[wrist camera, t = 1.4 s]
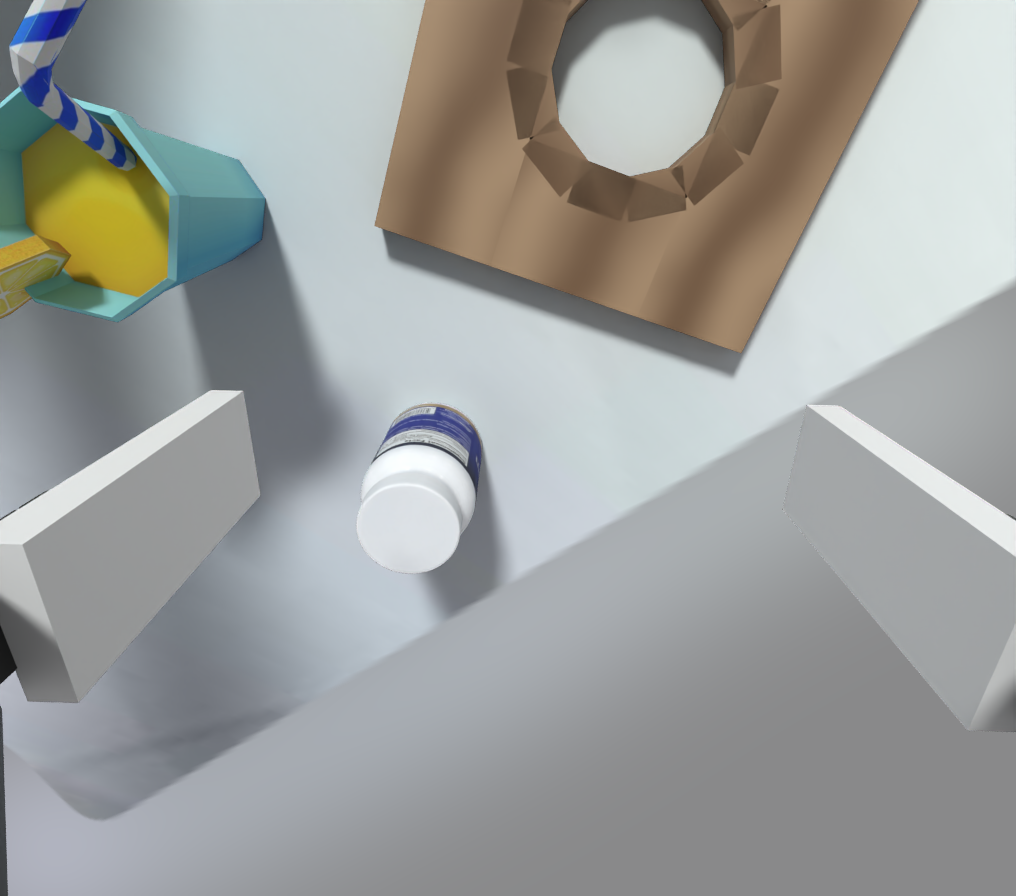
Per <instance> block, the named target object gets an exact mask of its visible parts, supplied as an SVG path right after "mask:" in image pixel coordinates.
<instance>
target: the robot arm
mask: <svg viewBox="0 0 1016 896" xmlns="http://www.w3.org/2000/svg"><path fill="white" fill-rule="evenodd" d="M259 497H260V489H259V483H258V476H257V470H256V464H255V458H254V452H253V446H252V440H251V434H250V428H249V422H248V416H247V409H246V403H245V397H244V391H230V390H210V391H209V392H207V393H205V394H204V395H202V396H201V397H199V398H197V399H196V400H194V401H192V402H191V403H189V404H188V405H186V406H184V407H183V408H181V409H180V410H178V411H176V412H175V413H173V414H172V415H170V416H168V417H167V418H165V419H163V420H162V421H160V422H159V423H157V424H155V425H154V426H152V427H151V428H149V429H147V430H146V431H144V432H142V433H141V434H139V435H138V436H136V437H134V438H133V439H131V440H130V441H128V442H126V443H125V444H123V445H122V446H120V447H118V448H117V449H115V450H113V451H112V452H110V453H109V454H107V455H105V456H104V457H102V458H101V459H99V460H97V461H96V462H94V463H92V464H91V465H89V466H88V467H86V468H84V469H83V470H81V471H80V472H78V473H76V474H75V475H73V476H71V477H70V478H68V479H67V480H65V481H63V482H62V483H60V484H59V485H57V486H55V487H54V488H52V489H51V490H48V491H46V492H43V493H42V494H40V495H38V496H37V497H35V498H34V499H32V500H30V501H29V502H27V503H26V504H24V505H22V506H21V507H19V509H18V510H14V511H13V512H11V513H9V514H8V515H6V516H4V517H3V518H1V519H0V684H1V683H2V682H3V681H4V680H5V679H6V678H7V677H8V676H10V675H11V674H12V673H13V672H14V671H16V673H17V676H18V678H19V681H20V683H21V686H22V688H23V691H24V693H25V696H26V698H27V701H33V702H65V703H79V702H80V701H81V700H82V699H83V698H84V696H85V695H86V694H87V693H88V692H89V691H90V690H91V688H92V687H93V686H94V685H95V684H96V683H97V682H98V680H99V679H100V678H101V677H102V676H103V675H104V674H105V672H106V671H107V670H108V669H109V668H110V667H111V666H112V664H113V663H114V662H115V661H116V660H117V659H118V658H119V656H120V655H121V654H122V653H123V652H124V651H125V650H126V648H127V647H128V646H129V645H130V644H131V643H132V642H133V640H134V639H135V638H136V637H137V636H138V635H139V634H140V632H141V631H142V630H143V629H144V628H145V627H146V626H147V624H148V623H149V622H150V621H151V620H152V619H153V618H154V616H155V615H156V614H157V613H158V612H159V611H160V610H161V608H162V607H163V606H164V605H165V604H166V603H167V602H168V600H169V599H170V598H171V597H172V596H173V595H174V594H175V592H176V591H177V590H178V589H179V588H180V587H181V586H182V584H183V583H184V582H185V581H186V580H187V579H188V578H189V576H190V575H191V574H192V573H193V572H194V571H195V570H196V568H197V567H198V566H199V565H200V564H201V563H202V562H203V561H204V559H205V558H206V557H207V556H208V555H209V554H210V553H211V551H212V550H213V549H214V548H215V547H216V546H217V545H218V543H219V542H220V541H221V540H222V539H223V538H224V537H225V535H226V534H227V533H228V532H229V531H230V530H231V529H232V527H233V526H234V525H235V524H236V523H237V522H238V521H239V519H240V518H241V517H242V516H243V515H244V514H245V513H246V511H247V510H248V509H249V508H250V507H251V506H252V505H253V503H254V502H255V501H256V500H257V499H258V498H259ZM782 510H783V511H784V512H785V513H786V514H787V516H788V517H789V518H790V519H791V520H792V522H793V523H794V524H795V525H796V526H797V528H798V529H799V530H800V531H801V532H802V533H803V535H804V536H805V537H806V538H807V539H808V540H809V542H810V543H811V544H812V545H813V547H814V548H815V549H816V550H817V551H818V553H819V554H820V555H821V556H822V557H823V559H824V560H825V561H826V562H827V563H828V564H829V566H830V567H831V568H832V569H833V570H834V572H835V573H836V574H837V575H838V576H839V577H840V579H841V580H842V581H843V582H844V584H845V585H846V586H847V587H848V588H849V590H850V591H851V592H852V593H853V594H854V595H855V597H856V598H857V599H858V600H859V601H860V603H861V604H862V605H863V606H864V607H865V609H866V610H867V611H868V612H869V613H870V615H871V616H872V617H873V618H874V619H875V620H876V622H877V623H878V624H879V625H880V627H881V628H882V629H883V630H884V631H885V632H886V633H887V635H888V636H889V637H890V638H891V640H892V641H893V642H894V643H895V644H896V645H897V647H898V648H899V649H900V650H901V652H902V653H903V654H904V655H905V656H906V658H907V659H908V660H909V661H910V662H911V664H912V665H913V666H914V667H915V668H916V669H917V671H918V672H919V673H920V674H921V675H922V677H923V678H924V679H925V680H926V681H927V683H928V684H929V685H930V686H931V687H932V689H933V690H934V691H935V692H936V693H937V695H938V696H939V697H940V698H941V699H942V701H943V702H944V703H945V704H946V705H947V706H948V708H949V709H950V710H951V711H952V712H953V714H954V715H955V716H956V717H957V718H958V720H959V721H960V722H961V723H962V724H963V726H964V727H965V728H966V729H967V730H968V731H997V732H1016V519H1015V518H1014V517H1012V516H1010V515H1008V514H1005V513H1003V512H1002V511H1000V510H999V509H997V508H995V507H994V506H992V505H991V504H989V503H988V502H986V501H985V500H983V499H981V498H980V497H979V496H977V495H976V494H974V493H972V492H971V491H969V490H968V489H966V488H965V487H963V486H962V485H960V484H958V483H957V482H955V481H954V480H953V479H951V478H950V477H948V476H946V475H945V474H943V473H942V472H940V471H939V470H937V469H936V468H934V467H933V466H931V465H929V464H928V463H927V462H925V461H923V460H922V459H920V458H919V457H917V456H916V455H914V454H912V453H911V452H910V451H908V450H907V449H905V448H904V447H902V446H900V445H899V444H897V443H896V442H894V441H893V440H891V439H890V438H888V437H887V436H885V435H883V434H882V433H881V432H879V431H877V430H876V429H874V428H873V427H871V426H870V425H868V424H867V423H865V422H864V421H862V420H860V419H859V418H857V417H856V416H854V415H853V414H851V413H850V412H848V411H847V410H845V409H844V408H842V407H841V406H829V405H806V409H805V413H804V418H803V422H802V426H801V431H800V435H799V439H798V444H797V448H796V452H795V457H794V461H793V466H792V469H791V474H790V478H789V483H788V487H787V491H786V496H785V500H784V505H783V509H782ZM4 791H5V790H4V757H3V725H2V708H1V706H0V896H8V885H7V854H6V821H5V792H4Z"/></svg>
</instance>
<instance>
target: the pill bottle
mask: <svg viewBox="0 0 1016 896" xmlns="http://www.w3.org/2000/svg"><path fill="white" fill-rule="evenodd" d="M481 456H482V443H481V438H480V435H479V432H478V430H477V428H476V426H475V425H474V423H473V422H472V421H471V420H470V419H469V418H468V417H467V416H466V415H465V414H464V413H463V412H461V411H460V410H458V409H456V408H454V407H452V406H450V405H446V404H443V403H435V402H427V403H421V404H417V405H414V406H412V407H410V408H408V409H406V410H405V411H403V412H402V413H401V414H400V415H399V416H398V417H397V418H396V419H395V420H394V421H393V423H392V424H391V426H390V428H389V430H388V432H387V434H386V436H385V438H384V440H383V441H382V443H381V445H380V447H379V449H378V451H377V453H376V455H375V457H374V459H373V461H372V463H371V464H370V466H369V468H368V470H367V472H366V474H365V477H364V479H363V482H362V487H361V507H360V510H359V512H358V516H357V522H356V529H357V535H358V539H359V542H360V544H361V546H362V548H363V549H364V551H365V552H366V553H367V554H368V556H369V557H370V558H371V559H373V560H374V561H375V562H376V563H378V564H379V565H381V566H383V567H384V568H386V569H389V570H391V571H395V572H399V573H405V574H418V573H424V572H427V571H430V570H433V569H435V568H437V567H439V566H441V565H442V564H444V563H445V562H446V561H447V560H448V559H449V558H450V557H451V556H452V555H453V553H454V552H455V550H456V548H457V546H458V543H459V540H460V535H461V534H462V533H463V532H464V530H465V529H466V528H467V526H468V525H469V523H470V521H471V518H472V516H473V513H474V509H475V504H476V497H477V488H478V480H479V472H480V464H481Z"/></svg>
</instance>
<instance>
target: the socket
mask: <svg viewBox="0 0 1016 896" xmlns="http://www.w3.org/2000/svg"><path fill="white" fill-rule="evenodd" d="M586 1H587V0H426V1H425V5H424V9H423V14H422V18H421V23H420V27H419V31H418V36H417V40H416V45H415V49H414V54H413V58H412V62H411V67H410V71H409V76H408V80H407V84H406V89H405V93H404V98H403V102H402V107H401V111H400V115H399V120H398V124H397V129H396V133H395V137H394V142H393V146H392V151H391V155H390V160H389V164H388V168H387V173H386V177H385V182H384V186H383V190H382V195H381V199H380V204H379V208H378V213H377V217H376V221H375V226H376V227H379V228H382V229H385V230H388V231H390V232H393V233H396V234H399V235H402V236H405V237H408V238H411V239H413V240H416V241H419V242H422V243H425V244H428V245H431V246H434V247H437V248H439V249H442V250H445V251H448V252H451V253H454V254H457V255H460V256H462V257H465V258H468V259H471V260H474V261H477V262H480V263H483V264H485V265H488V266H491V267H494V268H497V269H500V270H503V271H506V272H509V273H511V274H514V275H517V276H520V277H523V278H526V279H529V280H532V281H534V282H537V283H540V284H543V285H546V286H549V287H552V288H555V289H557V290H560V291H563V292H566V293H569V294H572V295H575V296H578V297H581V298H583V299H586V300H589V301H592V302H595V303H598V304H601V305H604V306H606V307H609V308H612V309H615V310H618V311H621V312H624V313H627V314H629V315H632V316H635V317H638V318H641V319H644V320H647V321H650V322H653V323H655V324H658V325H661V326H664V327H667V328H670V329H673V330H676V331H678V332H681V333H684V334H687V335H690V336H693V337H696V338H699V339H701V340H704V341H707V342H710V343H713V344H716V345H719V346H722V347H724V348H727V349H730V350H733V351H736V352H739V353H742V351H743V349H744V347H745V345H746V343H747V341H748V339H749V337H750V335H751V333H752V331H753V329H754V327H755V325H756V323H757V321H758V319H759V317H760V315H761V313H762V311H763V309H764V307H765V305H766V303H767V301H768V299H769V297H770V295H771V293H772V291H773V289H774V287H775V285H776V283H777V281H778V279H779V277H780V275H781V273H782V271H783V269H784V267H785V265H786V263H787V261H788V259H789V257H790V255H791V253H792V252H793V250H794V248H795V246H796V244H797V242H798V240H799V238H800V236H801V234H802V232H803V230H804V228H805V226H806V224H807V222H808V220H809V218H810V216H811V214H812V212H813V210H814V208H815V206H816V204H817V202H818V200H819V198H820V196H821V194H822V192H823V190H824V188H825V186H826V184H827V182H828V180H829V178H830V176H831V174H832V172H833V170H834V168H835V166H836V164H837V162H838V160H839V158H840V156H841V154H842V152H843V150H844V148H845V146H846V144H847V142H848V140H849V138H850V136H851V134H852V132H853V130H854V128H855V126H856V124H857V122H858V120H859V118H860V116H861V114H862V112H863V110H864V108H865V106H866V104H867V102H868V100H869V98H870V96H871V94H872V92H873V90H874V88H875V86H876V84H877V82H878V80H879V78H880V77H881V75H882V73H883V71H884V69H885V67H886V65H887V63H888V61H889V59H890V57H891V55H892V53H893V51H894V49H895V47H896V45H897V43H898V41H899V39H900V37H901V35H902V33H903V31H904V29H905V27H906V25H907V23H908V21H909V19H910V17H911V15H912V13H913V11H914V9H915V7H916V5H917V3H918V1H919V0H702V2H703V3H704V5H705V7H706V8H707V10H708V11H709V13H710V15H711V16H712V18H713V19H714V21H715V23H716V24H717V26H718V27H719V29H720V31H721V32H722V38H723V58H724V78H725V88H724V90H723V93H722V95H721V98H720V100H719V102H718V105H717V107H716V110H715V112H714V114H713V117H712V119H711V122H710V124H709V127H708V129H707V131H706V134H705V136H704V137H703V138H701V139H700V140H699V141H698V142H697V143H696V144H695V145H694V146H693V147H691V148H690V149H689V150H688V151H687V152H686V153H685V154H684V155H682V156H681V157H680V158H679V159H678V160H677V161H676V162H675V163H673V164H672V165H671V166H670V167H669V168H666V169H662V170H657V171H653V172H648V173H644V174H639V175H635V176H630V177H629V176H627V175H624V174H621V173H619V172H616V171H613V170H611V169H608V168H606V167H603V166H600V165H598V164H595V163H592V162H590V161H588V160H587V159H586V157H585V156H584V155H583V153H582V152H581V151H580V149H579V148H578V147H577V145H576V144H575V143H574V141H573V140H572V139H571V137H570V136H569V135H568V133H567V132H566V131H565V129H564V128H563V127H562V125H561V124H560V123H559V117H558V110H557V104H556V97H555V90H554V84H553V77H552V70H551V69H552V66H553V62H554V59H555V56H556V53H557V49H558V46H559V43H560V40H561V37H562V33H563V30H564V27H565V24H566V22H567V21H568V20H569V19H570V18H571V17H572V16H573V15H574V14H575V13H576V12H577V11H578V10H579V9H580V8H581V6H582V5H583V4H584V3H585V2H586Z"/></svg>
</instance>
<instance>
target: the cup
mask: <svg viewBox="0 0 1016 896" xmlns="http://www.w3.org/2000/svg"><path fill="white" fill-rule="evenodd" d="M85 2H86V0H34V1H33V2H32V4H31V6H30V8H29V10H28V12H27V14H26V15H25V17H24V19H23V21H22V23H21V25H20V27H19V29H18V30H17V32H16V34H15V36H14V38H13V40H12V42H11V43H10V45H9V50H10V56H11V62H12V68H13V73H14V75H15V77H16V79H17V82H18V84H19V87H18V88H17V89H16V90H15V91H13V92H12V93H11V94H10V95H9V96H8V97H6V98H5V99H4V100H3V101H2V102H1V103H0V319H1V318H3V317H5V316H7V315H9V314H11V313H13V312H14V311H15V310H17V309H18V308H19V307H21V306H22V305H23V304H25V303H26V302H27V301H29V300H30V299H31V298H32V299H33V300H34V301H35V302H37V303H41V304H45V305H49V306H53V307H57V308H61V309H65V310H69V311H73V312H77V313H82V314H86V315H90V316H94V317H98V318H102V319H106V320H110V321H114V322H119V321H121V320H123V319H125V318H126V317H128V316H130V315H132V314H133V313H135V312H136V311H137V310H139V309H140V308H142V307H143V306H145V305H146V304H147V303H149V302H150V301H152V300H153V299H154V298H156V297H157V296H159V295H160V294H162V293H163V292H165V291H167V290H169V289H171V288H173V287H175V286H178V285H180V284H182V283H184V282H186V281H188V280H190V279H193V278H195V277H197V276H199V275H201V274H203V273H206V272H208V271H210V270H212V269H214V268H216V267H218V266H221V265H223V264H225V263H227V262H229V261H231V260H233V259H235V258H236V257H237V256H239V255H240V254H242V253H243V252H245V251H246V250H247V249H249V248H250V247H252V246H253V245H255V244H256V243H258V242H259V241H260V240H262V233H263V221H264V209H265V197H264V196H263V194H262V193H261V191H260V190H259V188H258V187H257V186H256V184H255V183H254V181H253V180H252V178H251V177H250V175H249V174H248V173H247V171H246V170H245V168H244V167H243V165H242V164H241V162H240V161H239V160H237V159H234V158H231V157H228V156H225V155H222V154H219V153H216V152H213V151H210V150H207V149H204V148H201V147H198V146H195V145H192V144H189V143H186V142H183V141H180V140H177V139H174V138H171V137H168V136H165V135H162V134H159V133H156V132H152V131H149V130H146V129H143V128H140V127H139V126H138V124H137V123H136V121H135V120H134V119H133V117H131V116H128V115H126V114H124V113H121V112H119V111H117V110H114V109H110V108H106V107H103V106H99V105H96V104H92V103H88V102H85V101H81V100H78V99H74V98H71V97H69V96H68V95H67V94H66V93H65V92H64V91H62V90H61V89H60V88H59V87H58V86H57V85H55V84H54V83H53V79H52V71H51V69H52V67H53V65H54V63H55V61H56V59H57V57H58V55H59V53H60V51H61V49H62V47H63V45H64V43H65V41H66V39H67V37H68V35H69V34H70V32H71V30H72V28H73V26H74V24H75V22H76V20H77V18H78V16H79V14H80V12H81V10H82V8H83V6H84V4H85Z"/></svg>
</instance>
